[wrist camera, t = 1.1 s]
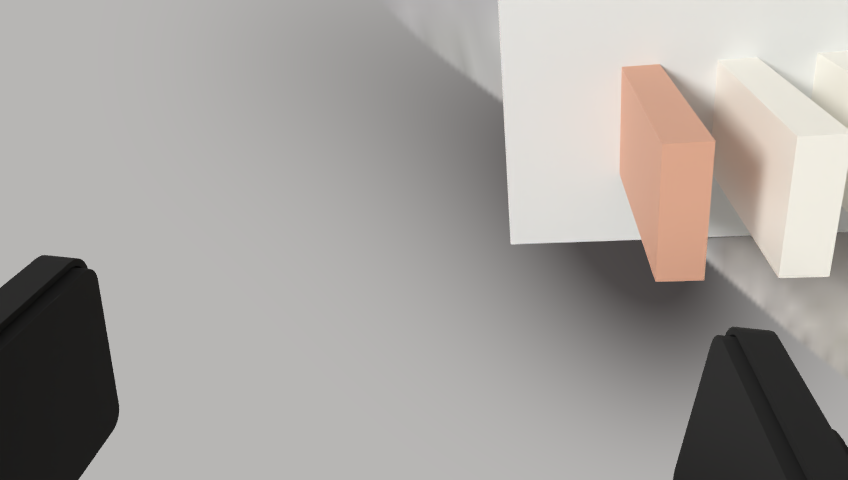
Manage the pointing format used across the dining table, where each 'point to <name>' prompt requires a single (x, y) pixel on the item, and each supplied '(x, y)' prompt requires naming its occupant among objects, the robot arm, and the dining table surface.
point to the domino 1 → (666, 172)
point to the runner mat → (601, 95)
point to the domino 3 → (833, 92)
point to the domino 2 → (779, 166)
